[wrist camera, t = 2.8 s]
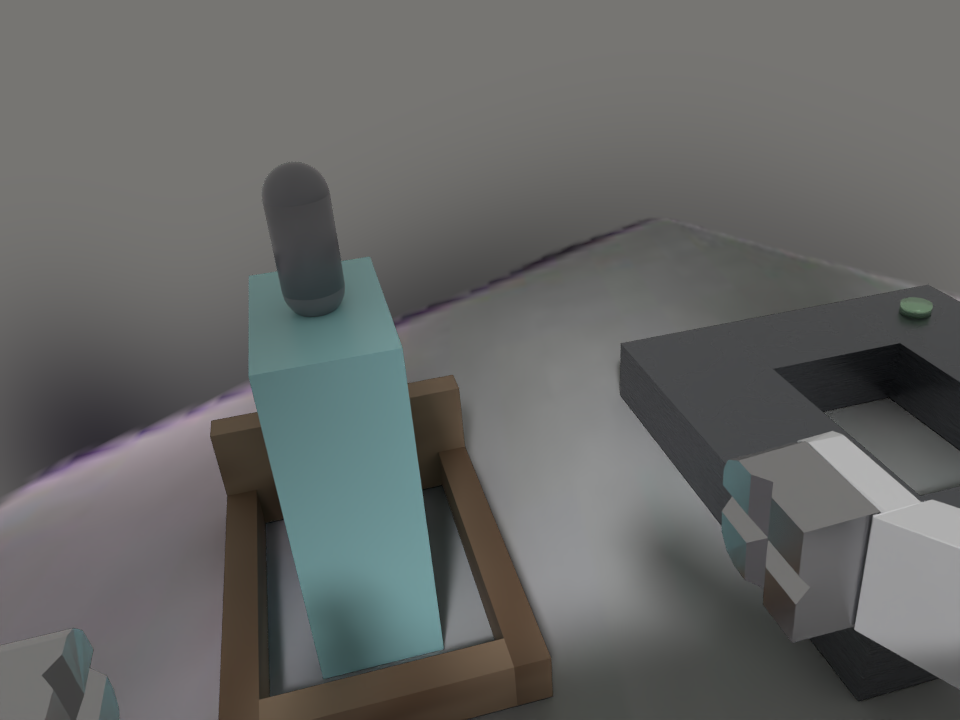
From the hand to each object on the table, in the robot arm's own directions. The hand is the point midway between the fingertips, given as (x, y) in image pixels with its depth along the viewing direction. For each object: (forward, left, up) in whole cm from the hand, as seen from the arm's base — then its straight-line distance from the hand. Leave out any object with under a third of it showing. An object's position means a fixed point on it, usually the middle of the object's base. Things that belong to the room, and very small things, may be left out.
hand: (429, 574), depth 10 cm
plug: (-1, +12, -12) cm, 17 cm away
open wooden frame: (-1, +12, -12) cm, 17 cm away
